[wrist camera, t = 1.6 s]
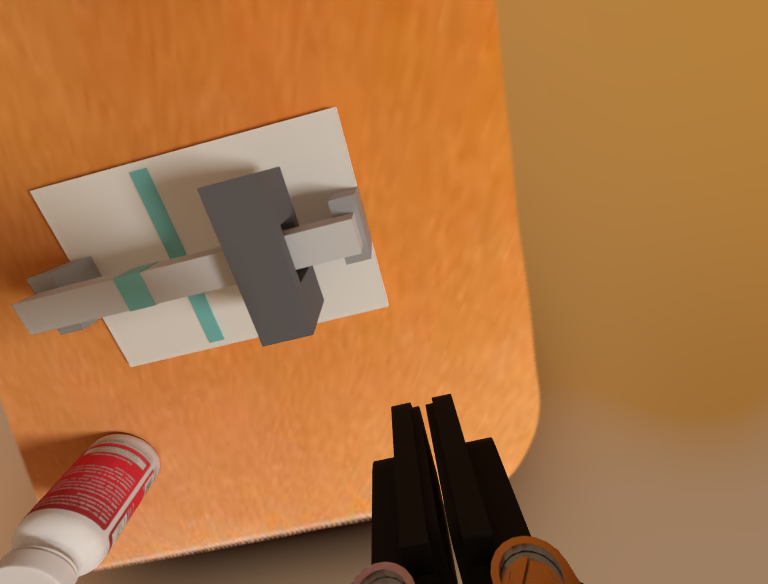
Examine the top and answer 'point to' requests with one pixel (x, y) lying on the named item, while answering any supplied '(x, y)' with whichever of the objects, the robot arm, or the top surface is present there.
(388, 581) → the robot arm
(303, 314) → the collar
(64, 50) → the top surface
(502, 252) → the top surface
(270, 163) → the rail stand
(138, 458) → the pill bottle
